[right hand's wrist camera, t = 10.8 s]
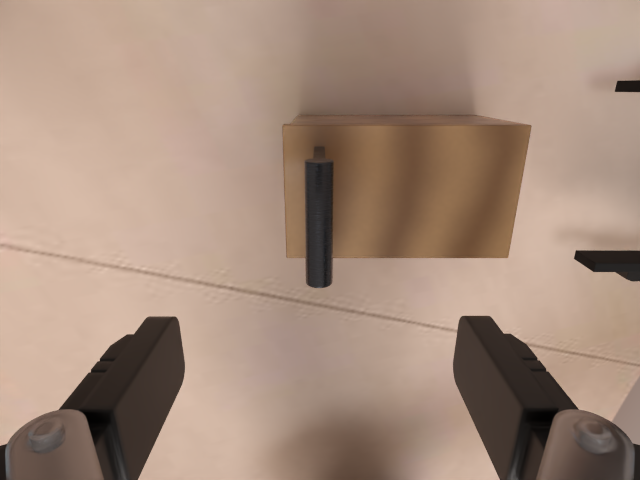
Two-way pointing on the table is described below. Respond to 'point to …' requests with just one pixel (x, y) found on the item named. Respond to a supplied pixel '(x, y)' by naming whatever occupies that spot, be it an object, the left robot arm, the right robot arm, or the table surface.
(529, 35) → the table surface
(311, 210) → the lid
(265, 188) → the table surface
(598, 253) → the left robot arm
